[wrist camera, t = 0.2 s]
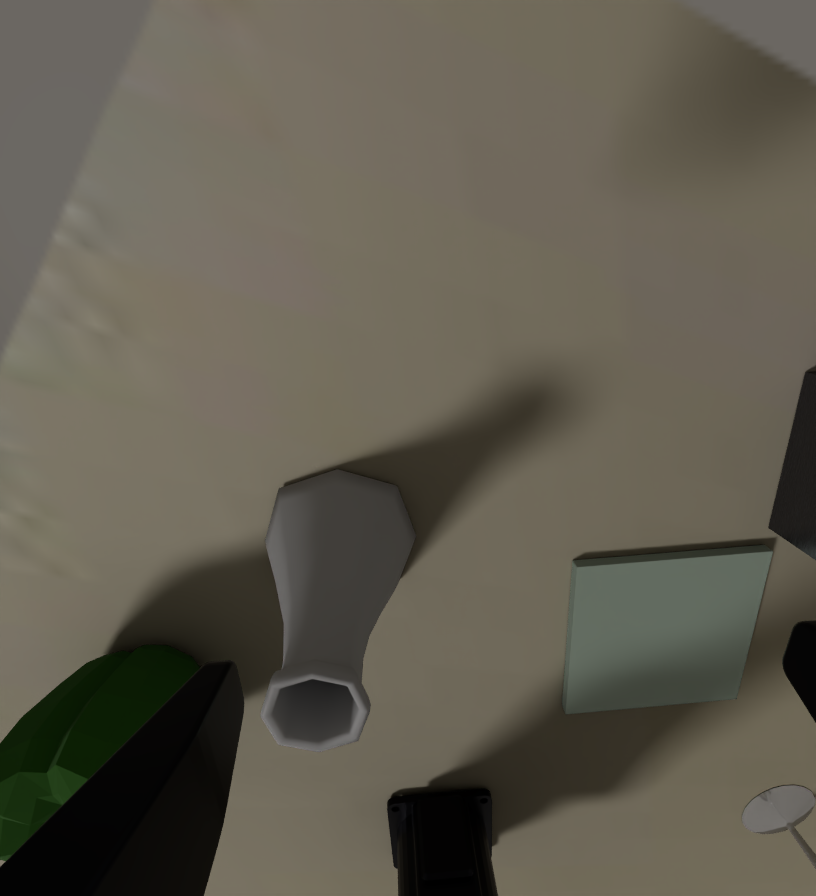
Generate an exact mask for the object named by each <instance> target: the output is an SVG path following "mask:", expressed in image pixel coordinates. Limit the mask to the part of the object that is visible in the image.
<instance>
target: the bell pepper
mask: <svg viewBox="0 0 816 896" xmlns="http://www.w3.org/2000/svg"><path fill="white" fill-rule="evenodd" d="M199 669H200V667H199V665H198V664H197V663H196V661H195V660H194V659H193V658H192V656H189V655H187V654H185V653H183V652H181V651H179V650H176V649H174V648H172V647H170V646H168V645H143V646H141V647H139V648H137V649H135V650H134V652H133V653H130V652H126V651H120V652H116V653H112V654H108V655H104V656H102V657H100V658H97V659H95V660H92V661H90V662H88V663H86V664H85V665H84V666H82V667H81V668H80V669H78V670H77V671H76V672H75V673H73V674H72V675H71V676H69V677H68V678H67V679H66V680H64V681H63V682H62V683H61V684H59V685H58V686H57V687H56V688H55V689H54V690H52V691H51V692H50V693H49V694H48V695H47V696H46V697H44V698H43V699H42V700H41V701H40V702H39V703H38V704H36V705H35V706H34V707H33V708H32V709H31V710H29V711H28V712H27V713H26V714H25V715H24V716H23V717H22V718H21V719H20V720H19V721H18V723H17V724H16V725H15V726H14V727H13V729H12V730H11V731H10V732H9V733H8V735H7V736H6V737H5V738H4V740H3V741H2V742H1V743H0V860H4V861H7V860H8V859H9V858H10V857H11V856H12V855H13V854H14V853H15V852H16V851H17V850H18V849H19V848H20V847H21V846H22V845H23V844H24V843H25V842H26V841H27V840H28V839H29V838H30V837H31V836H32V835H33V834H34V833H35V832H36V831H37V830H38V829H39V828H40V827H41V826H42V825H43V824H44V823H45V822H46V821H47V820H48V819H49V818H50V817H51V816H52V815H53V814H54V813H55V812H56V811H57V810H58V809H59V808H60V807H61V806H62V805H63V804H64V803H65V802H66V801H67V800H68V799H69V798H70V797H71V796H72V795H73V794H74V793H75V792H76V791H77V790H78V789H79V788H80V787H81V786H82V785H83V784H84V783H85V782H86V781H87V780H88V779H89V778H90V777H91V776H92V775H93V774H94V773H95V772H96V771H97V770H98V769H99V768H100V767H101V766H102V765H103V764H104V763H105V762H106V761H107V760H108V759H109V758H110V757H111V756H112V755H113V754H114V753H115V752H116V751H117V750H118V749H119V748H120V747H121V746H122V745H123V744H124V743H125V742H126V741H127V740H128V739H129V738H130V737H131V736H132V735H133V734H134V733H135V732H136V731H137V730H138V729H139V728H140V727H141V726H142V725H143V724H144V723H145V722H146V721H147V720H148V719H150V718H151V717H152V716H153V715H154V714H155V713H156V712H157V711H158V710H159V709H160V708H161V707H162V706H163V705H164V704H165V703H166V702H167V701H168V700H169V699H170V698H171V697H172V696H173V695H174V694H175V693H176V692H177V691H178V690H179V689H180V688H181V687H182V686H183V685H184V684H185V683H186V682H187V681H188V680H189V679H190V678H191V677H192V676H193V675H194V674H195V673H196V672H197V671H198V670H199Z"/></svg>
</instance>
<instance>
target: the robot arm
mask: <svg viewBox="0 0 816 896" xmlns="http://www.w3.org/2000/svg"><path fill="white" fill-rule="evenodd" d="M782 664H783V669H784V672H785V674H786V676H787V678H788V679H789V681H790V683H791V684H792V686H793V687H794V689H795V690H796V692H797V694H798V695H799V697H800V698H801V700H802V702H803V703H804V705H805V706H806V708H807V709H808V711H809V713H810V714H811V716H812V717H813V719H814V721H815V722H816V621H802V622H798V623H797V624H796V625H795V626H794V627H793V629H792V632H791V635H790V638H789V641H788V644H787V647H786V650H785V653H784V656H783V659H782ZM243 713H244V697H243V693H242V688H241V684H240V679H239V675H238V671H237V667H236V664H235V663H234V662H233V661H231V660H225V661H211V662H207V663H206V664H204V665H203V666H202V667H201V668H200V669H199V670H198V671H197V672H196V673H195V674H194V675H193V676H192V677H191V678H190V679H189V680H188V681H187V682H186V683H185V684H184V685H183V686H182V687H181V688H180V689H179V690H178V691H177V692H176V693H175V694H174V695H173V696H172V697H171V698H170V699H169V700H168V701H167V702H166V703H165V704H164V705H163V706H162V707H161V708H160V709H159V710H158V711H157V712H156V713H155V714H154V715H153V716H152V717H151V718H150V719H148V720H147V721H146V722H145V723H144V724H143V725H142V726H141V727H140V728H139V729H138V730H137V731H136V732H135V733H134V734H133V735H132V736H131V737H130V738H129V739H128V740H127V741H126V742H125V743H124V744H123V745H122V746H121V747H120V748H119V749H118V750H117V751H116V752H115V753H114V754H113V755H112V756H111V757H110V758H109V759H108V760H107V761H106V762H105V763H104V764H103V765H102V766H101V767H100V768H99V769H98V770H97V771H96V772H95V773H94V774H93V775H92V776H91V777H90V778H89V779H88V780H87V781H86V782H85V783H84V784H83V785H82V786H81V787H80V788H79V789H78V790H77V791H76V792H75V793H74V794H73V795H72V796H71V797H70V798H69V799H68V800H67V801H66V802H65V803H64V804H63V805H62V806H61V807H60V808H59V809H58V810H57V811H56V812H55V813H54V814H53V815H52V816H51V817H50V818H49V819H48V820H47V821H46V822H45V823H44V824H43V825H42V826H41V827H40V828H39V829H38V830H37V831H36V832H35V833H34V834H33V835H32V836H31V837H30V838H29V839H28V840H27V841H26V842H25V843H24V844H23V845H22V846H21V847H20V848H19V849H18V850H17V851H16V852H15V853H14V854H13V855H12V856H11V857H10V858H9V859H8V860H7V861H6V862H5V863H4V864H3V865H2V866H1V867H0V896H204V893H205V889H206V886H207V882H208V879H209V875H210V872H211V868H212V864H213V861H214V857H215V854H216V850H217V847H218V843H219V839H220V835H221V831H222V827H223V823H224V818H225V813H226V808H227V803H228V797H229V792H230V786H231V781H232V775H233V769H234V764H235V758H236V753H237V747H238V742H239V736H240V731H241V725H242V719H243ZM387 811H388V820H389V829H390V837H391V846H392V855H393V863H394V867H395V868H397V869H398V896H498V893H497V888H496V882H495V877H494V872H493V866H492V861H491V856H492V799H491V794H490V791H489V790H487V789H476V790H466V791H455V792H444V793H434V794H423V795H412V796H402V797H393V798H391V799H389V800H388V802H387Z"/></svg>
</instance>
